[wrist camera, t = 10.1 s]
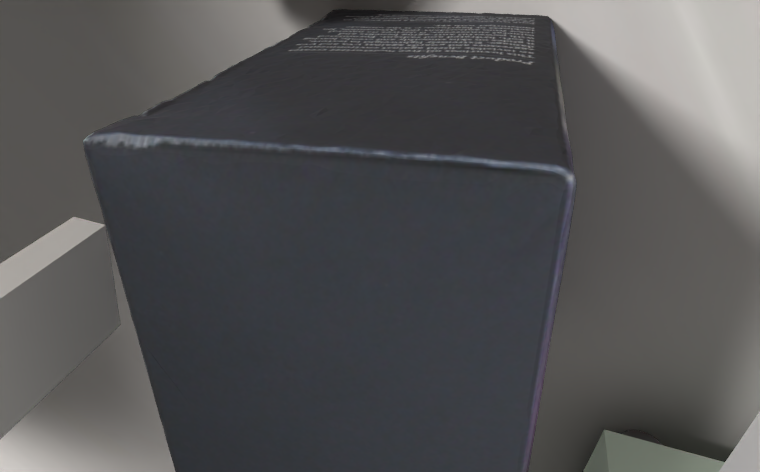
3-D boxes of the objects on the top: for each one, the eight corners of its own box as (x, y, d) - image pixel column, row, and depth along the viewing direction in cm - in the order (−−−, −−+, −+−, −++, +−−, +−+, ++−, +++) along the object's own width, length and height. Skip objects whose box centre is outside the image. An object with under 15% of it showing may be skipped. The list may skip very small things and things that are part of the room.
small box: (523, 337, 20) (507, 688, 11) (342, 311, 21) (198, 604, 12) (569, 9, 14) (609, 178, 6) (323, 5, 16) (45, 134, 7)
